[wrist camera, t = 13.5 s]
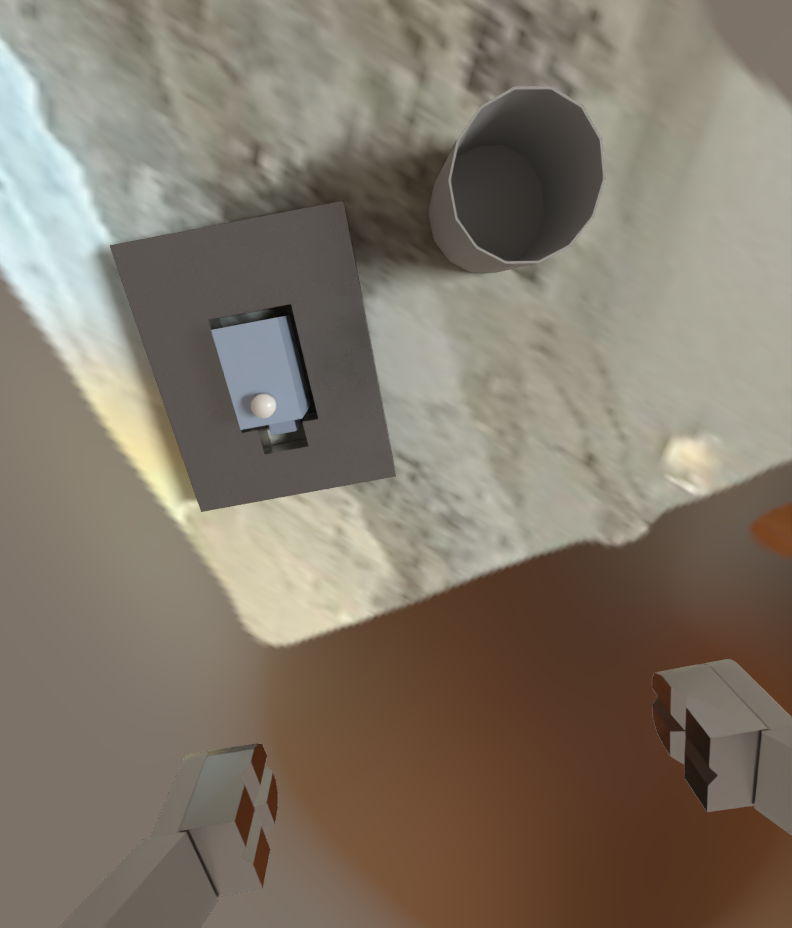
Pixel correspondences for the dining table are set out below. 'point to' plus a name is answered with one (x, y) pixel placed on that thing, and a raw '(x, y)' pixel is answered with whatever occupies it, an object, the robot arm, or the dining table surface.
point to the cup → (518, 182)
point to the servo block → (264, 374)
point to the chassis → (248, 290)
